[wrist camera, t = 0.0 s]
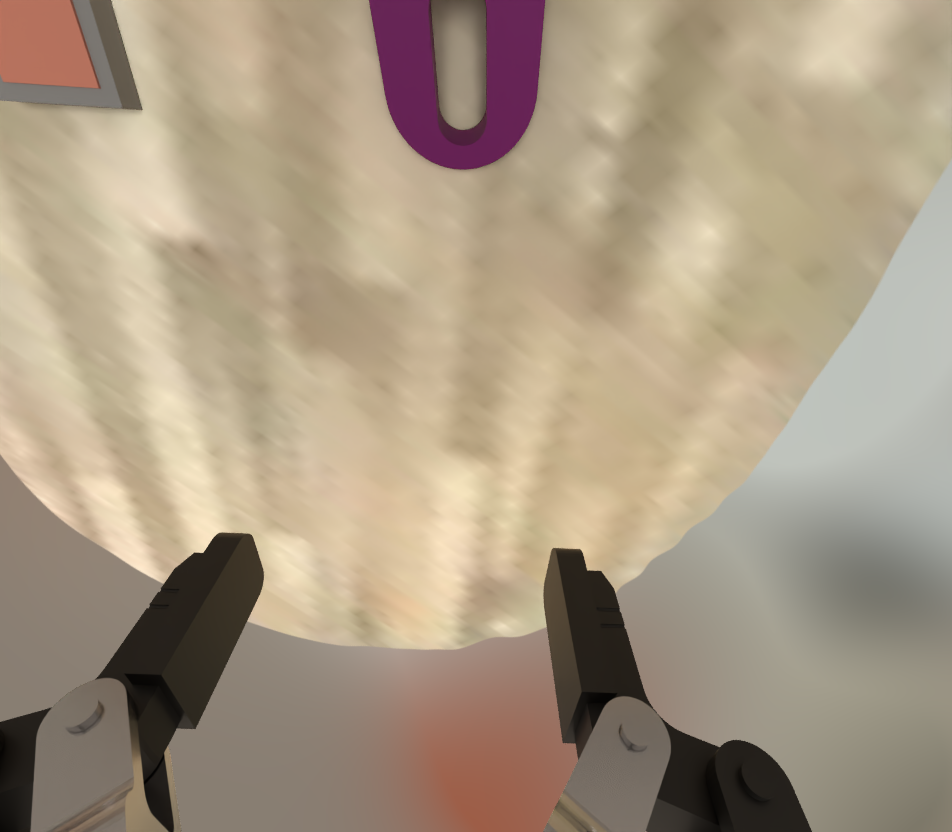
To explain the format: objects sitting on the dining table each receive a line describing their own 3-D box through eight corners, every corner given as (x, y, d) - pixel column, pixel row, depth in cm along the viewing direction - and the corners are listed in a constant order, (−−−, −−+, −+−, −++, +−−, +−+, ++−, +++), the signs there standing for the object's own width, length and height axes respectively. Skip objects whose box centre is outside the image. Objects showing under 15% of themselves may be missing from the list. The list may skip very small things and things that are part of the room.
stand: (-42, -63, 26) (-82, -78, 24) (95, -53, 26) (65, -67, 25) (25, 102, 30) (-5, 100, 29) (142, 109, 31) (120, 108, 29)
